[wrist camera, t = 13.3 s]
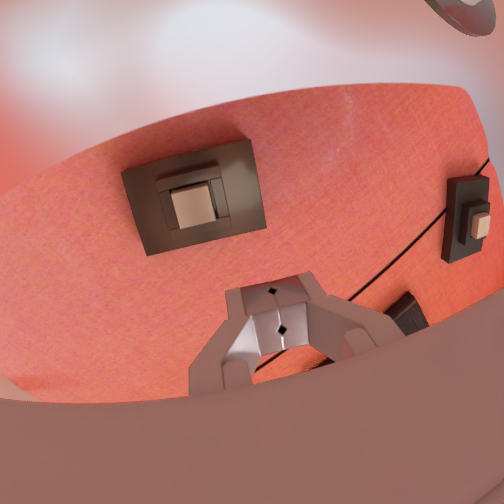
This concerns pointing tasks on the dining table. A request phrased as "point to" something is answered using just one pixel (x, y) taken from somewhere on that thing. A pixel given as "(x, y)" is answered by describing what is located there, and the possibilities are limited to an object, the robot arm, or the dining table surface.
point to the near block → (188, 174)
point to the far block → (463, 216)
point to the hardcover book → (404, 317)
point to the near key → (193, 205)
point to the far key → (480, 225)
